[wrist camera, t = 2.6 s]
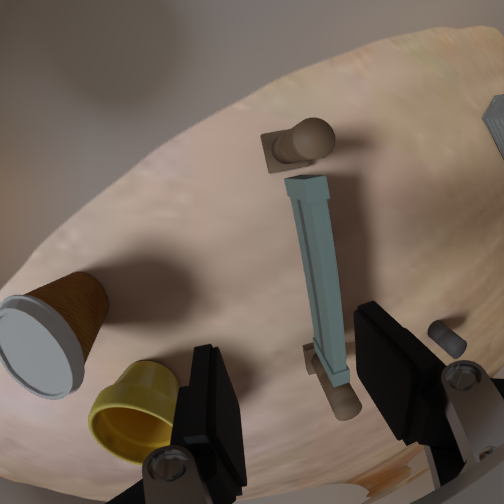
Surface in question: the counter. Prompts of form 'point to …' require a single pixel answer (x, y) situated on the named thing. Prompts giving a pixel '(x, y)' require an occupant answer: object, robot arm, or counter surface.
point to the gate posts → (297, 155)
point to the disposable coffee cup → (52, 334)
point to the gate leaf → (320, 271)
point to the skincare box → (496, 121)
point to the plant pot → (135, 412)
